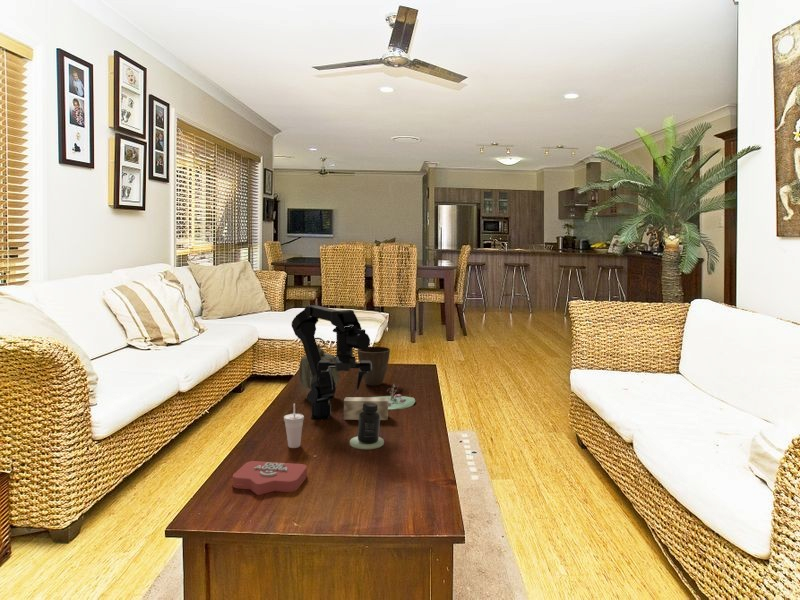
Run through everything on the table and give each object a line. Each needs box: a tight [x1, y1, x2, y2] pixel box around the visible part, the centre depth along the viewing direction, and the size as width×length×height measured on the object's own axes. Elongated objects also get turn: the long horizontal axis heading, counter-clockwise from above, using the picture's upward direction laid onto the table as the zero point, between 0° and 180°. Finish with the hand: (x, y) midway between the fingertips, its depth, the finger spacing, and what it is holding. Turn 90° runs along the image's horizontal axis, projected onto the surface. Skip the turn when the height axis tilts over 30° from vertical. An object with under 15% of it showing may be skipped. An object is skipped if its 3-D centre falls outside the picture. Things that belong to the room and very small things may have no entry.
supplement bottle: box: [357, 402, 381, 444], centre depth 186 cm, size 7×7×12 cm
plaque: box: [232, 460, 308, 496], centre depth 156 cm, size 18×4×15 cm
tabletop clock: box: [299, 337, 339, 390], centre depth 240 cm, size 14×9×25 cm, turn 58°
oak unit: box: [343, 396, 389, 421], centre depth 213 cm, size 16×5×7 cm, turn 90°
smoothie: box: [283, 403, 305, 449], centre depth 183 cm, size 6×6×14 cm
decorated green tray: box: [370, 381, 416, 411], centre depth 234 cm, size 25×21×9 cm
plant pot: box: [356, 346, 391, 387], centre depth 263 cm, size 15×15×16 cm
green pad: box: [349, 435, 385, 450], centre depth 187 cm, size 11×11×1 cm
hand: (344, 389), depth 203 cm, fingers open, 9 cm apart
